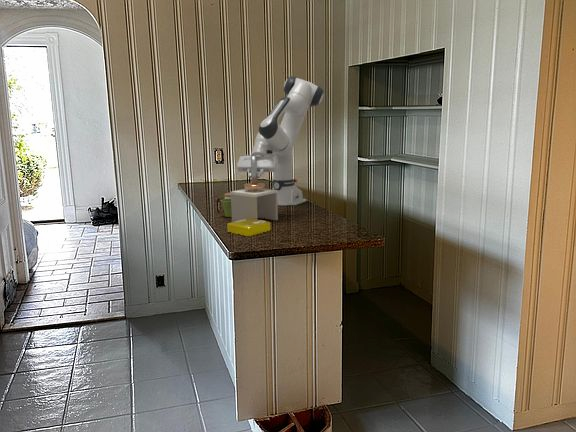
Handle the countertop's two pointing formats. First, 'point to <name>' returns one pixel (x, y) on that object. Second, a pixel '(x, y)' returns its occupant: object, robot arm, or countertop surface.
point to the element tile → (248, 227)
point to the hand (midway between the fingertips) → (253, 177)
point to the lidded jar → (227, 195)
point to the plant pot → (227, 207)
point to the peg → (254, 178)
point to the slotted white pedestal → (254, 204)
